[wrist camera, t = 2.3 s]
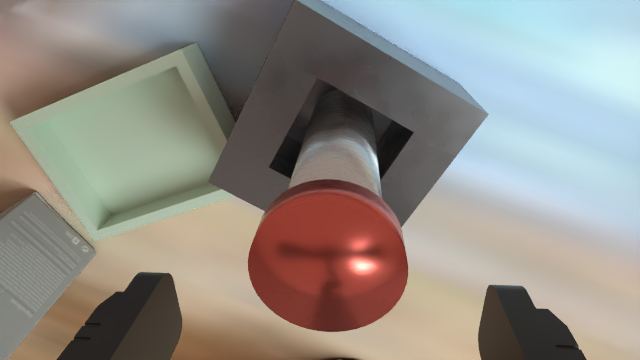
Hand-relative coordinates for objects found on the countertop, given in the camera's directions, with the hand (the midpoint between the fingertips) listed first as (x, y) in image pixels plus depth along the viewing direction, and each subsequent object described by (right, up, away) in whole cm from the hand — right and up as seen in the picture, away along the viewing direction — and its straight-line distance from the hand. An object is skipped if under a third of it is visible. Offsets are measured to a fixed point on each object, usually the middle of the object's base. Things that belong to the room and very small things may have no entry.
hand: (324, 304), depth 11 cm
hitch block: (+1, +7, +15) cm, 17 cm away
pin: (+1, +7, +14) cm, 16 cm away
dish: (-11, +6, +17) cm, 21 cm away
